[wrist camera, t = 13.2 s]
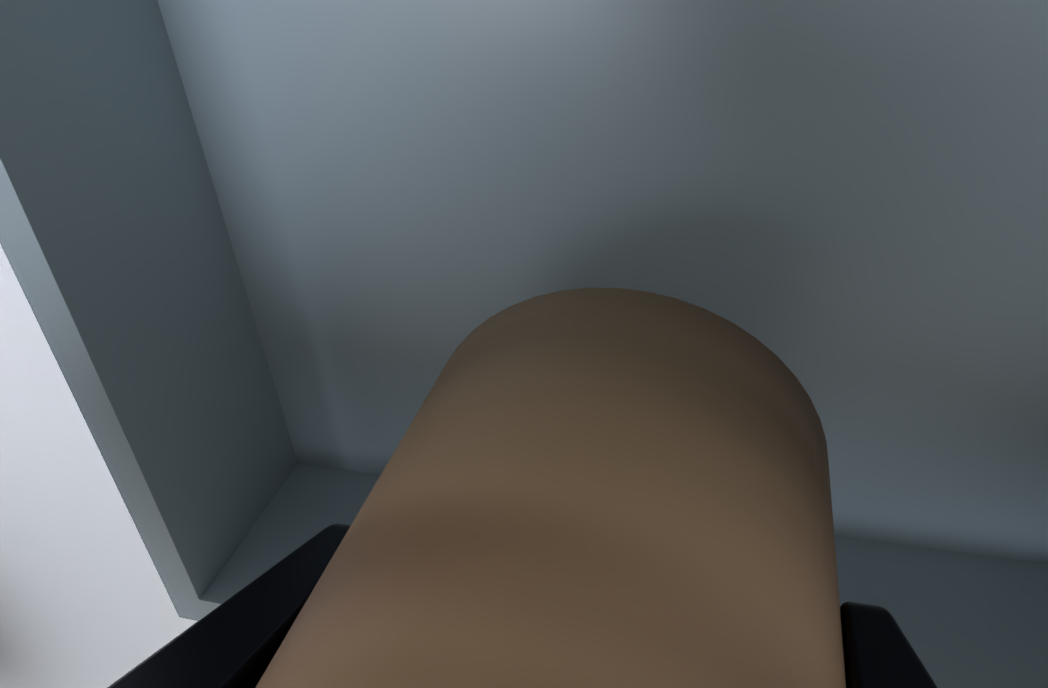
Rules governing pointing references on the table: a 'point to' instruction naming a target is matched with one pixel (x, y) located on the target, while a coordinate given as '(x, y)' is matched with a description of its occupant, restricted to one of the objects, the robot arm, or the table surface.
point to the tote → (546, 252)
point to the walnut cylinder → (589, 517)
